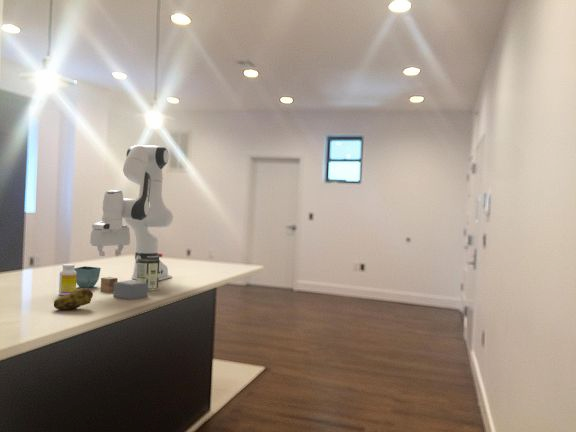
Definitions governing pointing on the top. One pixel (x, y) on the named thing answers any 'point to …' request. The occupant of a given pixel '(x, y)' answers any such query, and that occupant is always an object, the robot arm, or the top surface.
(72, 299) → the potato
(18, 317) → the top surface
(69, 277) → the supplement bottle
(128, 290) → the slate base
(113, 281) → the walnut block
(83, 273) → the flower pot
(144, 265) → the coffee can
